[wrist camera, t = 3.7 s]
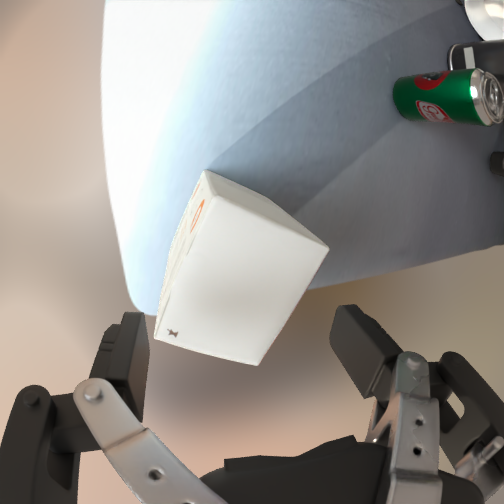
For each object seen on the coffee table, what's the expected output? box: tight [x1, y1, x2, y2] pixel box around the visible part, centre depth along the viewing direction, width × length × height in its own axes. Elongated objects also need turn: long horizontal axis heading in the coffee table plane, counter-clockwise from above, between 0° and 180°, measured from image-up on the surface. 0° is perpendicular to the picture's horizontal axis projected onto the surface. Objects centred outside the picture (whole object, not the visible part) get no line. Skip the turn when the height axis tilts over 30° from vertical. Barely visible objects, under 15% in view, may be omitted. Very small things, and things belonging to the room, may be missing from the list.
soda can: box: [393, 68, 504, 126], centre depth 18 cm, size 5×5×12 cm
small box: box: [154, 170, 330, 366], centre depth 19 cm, size 8×6×13 cm
